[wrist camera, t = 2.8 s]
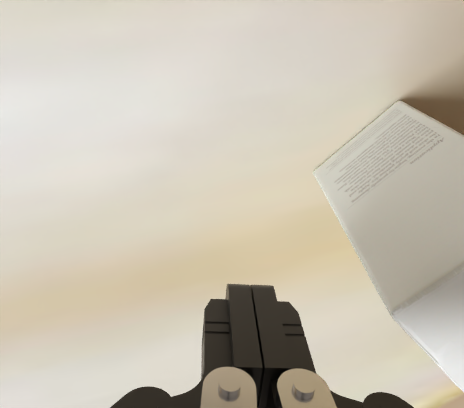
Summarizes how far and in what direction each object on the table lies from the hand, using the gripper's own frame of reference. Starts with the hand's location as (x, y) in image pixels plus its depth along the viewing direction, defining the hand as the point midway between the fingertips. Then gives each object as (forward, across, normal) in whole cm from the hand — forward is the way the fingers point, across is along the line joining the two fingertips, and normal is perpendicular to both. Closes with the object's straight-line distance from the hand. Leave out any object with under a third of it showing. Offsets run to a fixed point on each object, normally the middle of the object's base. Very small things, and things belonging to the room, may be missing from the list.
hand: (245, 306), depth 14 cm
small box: (+12, -10, 0) cm, 16 cm away
